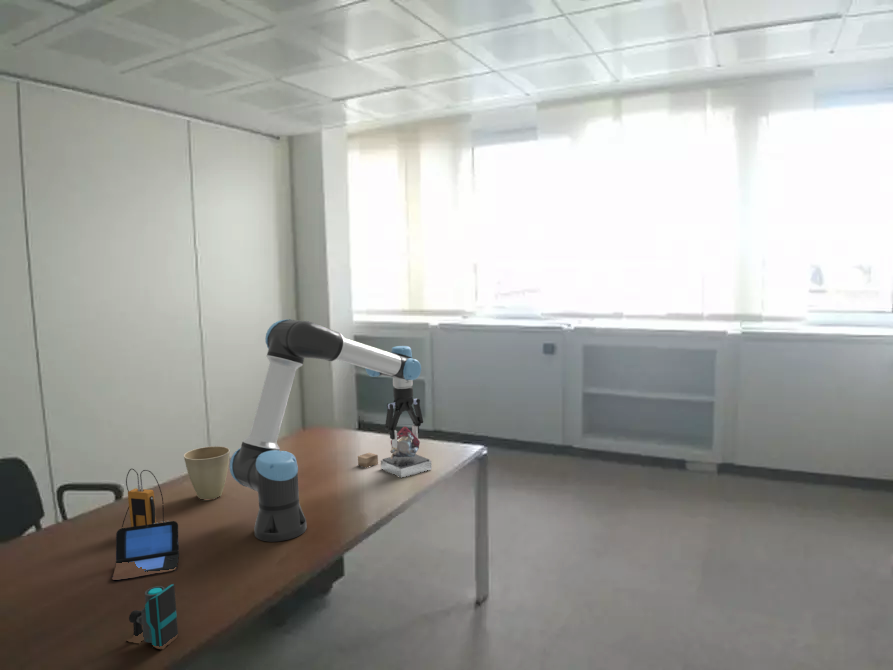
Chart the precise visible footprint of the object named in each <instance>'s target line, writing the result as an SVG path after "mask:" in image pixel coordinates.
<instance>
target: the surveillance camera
mask: <svg viewBox="0 0 893 670" xmlns="http://www.w3.org/2000/svg"><path fill="white" fill-rule="evenodd" d="M144 600H145V604H144V608H142V609H141V610H137V609H136V610H132V611H131V612H130V614H129V616H128V621H129V622H130V623H131V624H133V634H132V636H133V635H135V636H138V635H139V634H141V633H142V632H143V637H144V641H143V642H145V643H149V644H150V643H151V645H154V646H159V647H160V646H163V645H164V644H166V643H167V642H168V641H169V640H170V639H172V638H173V637H175V636H176V635H177V634H178V635H179V628H178V616H177V604H176V588H175V584H174V583H172V584H169V585H168V586H167V587H165V586H162V585H156V586H153V587H149V588H148V589H146V590H145V591H144Z"/></svg>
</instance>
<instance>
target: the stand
mask: <svg viewBox="0 0 893 670" xmlns="http://www.w3.org/2000/svg"><path fill="white" fill-rule="evenodd" d="M432 467H433V465H432V460H430V459H429V458H426V457H425V456H424V457H423V456H421V455H419V454H417V453H416V454H415V456H414V457H396V456H395V457H394V458H393V459H391V456H389V457H385V458H382V459H381V460H380V469H381V470H382V469H383V471H384V470H385V471H384V472H387V471H388V472H387V473H389V472H390V473H389V474H391V473H392V474H391V475H393V474H395V475H397V476H396V477H398V476H399V477H398V478H400V477H401V478H400V479H403V478H402V477H404V478H407V477H410V475H411V476H414V475H418V474H421V473H425V472H427V470H428V471H431V469H432ZM424 471H425V472H424ZM420 472H421V473H420ZM395 475H394V476H395ZM406 476H407V477H406Z"/></svg>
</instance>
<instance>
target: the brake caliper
mask: <svg viewBox="0 0 893 670" xmlns="http://www.w3.org/2000/svg"><path fill="white" fill-rule="evenodd" d="M412 436H413V437H412ZM420 443H421V442H420V440H419V437H418V438H417V437H416V436H415V435H414V434H413V433H412V430H410V429H409V428H408V427H407V426H403V427H402V428H400V430H399V431H397V448H394V447H392V439H390V446H391V448H390V454H391V456H390V457H391V459H393V458H394V457H395V456H396V457H414V456H415V454H416V455H417V452H418V451H419V448H420Z"/></svg>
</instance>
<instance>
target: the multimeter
mask: <svg viewBox="0 0 893 670" xmlns="http://www.w3.org/2000/svg"><path fill="white" fill-rule="evenodd" d="M132 470H133V471H134V472H135V473H136V475H137V488H136V487H135V488H133V489H131V490H129V487H128V476H129V473H130V472H131V471H132ZM146 471H147V472H149V473H150V474H151V475H152V476H153V477H154V479H155V481H156V483H157V485H158V489H159V492H160V496H161V501H162V503H164V498H163V493H162V490H161V487H160V483H159V482H158V480H157V477H156V476H155V474H154V473H153V472H152V471H150V470H148V469H143V470H142V471H141V472H140V475H139V473H138V472H137V470H136V469H135V468H130V469H129V470H128V472H127V473H126V477H125V486H126V489H127V500H128V507H127V510H126V512H125V516H124V518H123V522H122V524H121V528H122V527H123V528H124V525H125V524H124V523H125V520H126V517H127V514H128V512H129V520H130V527H134V526H141V525H149V524H156V523H157V517H156V514H157V513H156V504H155V503H156V502H155V492H154V490H153V489H145V488H144V486H143V482H142V481H143V480H142V474H143V473H144V472H146ZM139 476H140V477H139ZM139 478H140V480H139ZM164 510H165V509H164V506H162V522H165V521H164Z"/></svg>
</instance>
